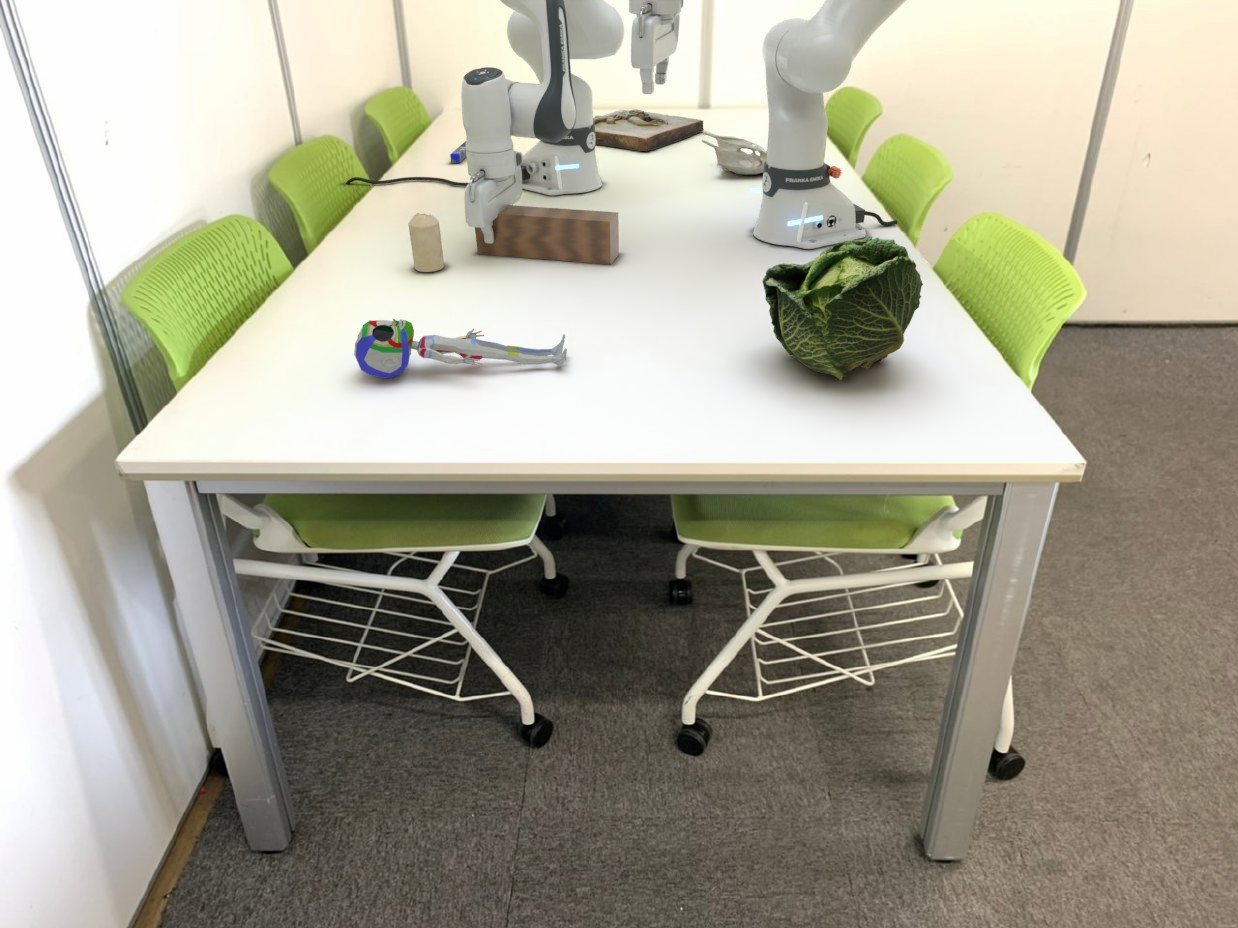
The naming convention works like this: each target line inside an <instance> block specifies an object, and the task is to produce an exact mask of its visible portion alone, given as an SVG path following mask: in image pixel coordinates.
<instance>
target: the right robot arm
mask: <svg viewBox="0 0 1238 928" xmlns="http://www.w3.org/2000/svg"><path fill="white" fill-rule="evenodd" d="M905 2H907V0H825V1H824V3H823V4H822V5H821V7H820V8H819V10H818V11H817V12H816V13H815V14H814V15H813V16H812V17H811V18H810V19H808V20H807V19H804V18H799V17H794V18H793V17H792V18H788V19H784V20H782V21H780V22H778V23H776V24H774V25H773V26H772V27H771V28H770V29H769V30H768V32H767V33H766V34H765V36H764V39H763V42H762V48H761V53H762V59H763V62H764V69H765V70H764V71H765V82H766V83H765V84H766V85H765V86H766V97H767V110H768V133H767V147H766V148H767V149H766V151H767V161H766V162H765V163H764V171H763V173H762V184H761V185H762V187H761V188H759V187H758V188H750V193H751V194H753V193H762V197H761V204H760V209H759V213H758V217H757V220H756V223H755V226H754V229H753V231H752V234H753V236H754V237H755V238H756V239H758V240H759V241H762V242H765V243H768V244H772V245H778V246H785V247H787V246H788V247H795V248H800V249H805V250H813V249H817V248H822V247H827V246H831V245H832V246H833V245H835V244H837V243H838V242H844V241H848V240H860V239H865V238H866V235H867V232H866V229H865V227H864V226H863V225H861V224H862V223H865V216H869V217H872V218H875V219H876V220H877V222H878V223H879V224H880V225H881V226H884V227H890V226H892V225H893V226H894V225H897V224H898V220H896V219H895V220H894V219H893V220H890V221H885V220H883V218H882V217H881V216H880V215H879V214H877V213H876V212H874V211H873V212H872V211H867V210H866V209H864V208H862V207H860V206H859V205H858V204H855V203H853V201H852V200H851V199H850V198H849V197H848V196H847V195H846V194H844V193H843V192H842V191H841V190H840V189H839V188H838V187H836V186H835V185H834V184H833V183H832V182H831V177H832V178H833V179H839V178H840V177H841V176H842V169H841V168H840V167H837V166H836V165H833V166H831V165H829V164H827V163H825V156H826V148H827V137H828V128H829V120H828V119H829V118H828V115H827V112H826V107H825V100H824V93H829V92H832V91H834V90H836V89H837V88H839V87H840V86H841V85H842V84H843V83H844V82H845V80H846V79H847V77H849V74H850V71H851V68H852V63H853V61H854V60H855V58H857V56H858V55H859V53H860V52H861V51H862V49H863V48H864V46H865V45H866V44H867V42H868V41H869V39H870V38H871V37H872V35H874V33H876V31H877V30H878V29H879V28H880V27H881V26H882V25H883V24H884V23H885V22H886V21H887V20H888V19H889V18H890V17H891V16H892V15H893V14H894V13H895V12H896V11H897V10H898V9H899V8H900V7H901V6H903V4H905ZM682 8H684V0H628V12H629V14H633V15H636V17H634V19H633V20H632V23H631V24H632V25H631V35H630V36H631V37H630V39H631V40H630V63H631V68H633V69H639V76H640V80H641V90H642V91H641V92H642V94H644V95H652V94H654V92H655V85H659V86H661V85H662V86H663V85H664V84H666V83H667V72H668V67H669V62H670V56H671V55H674V54H675V53H676V51H677V47H678V41H679V31H680V20H681V12H682ZM654 72H655V73H654Z"/></svg>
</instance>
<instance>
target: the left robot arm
mask: <svg viewBox="0 0 1238 928" xmlns="http://www.w3.org/2000/svg"><path fill="white" fill-rule="evenodd" d="M499 1H500V2H501V3H502V4H503V5H505V6H506V7H508V8H509V9H511V10H512V11H513V12H512V13H511V15H510V16H509V19H508V22H507V28H506V35H507V40H508V43H509V46H510V47H511V49H512V51H513V52H514V53H515V54H516V55H517V57H519V58H520V59H522V60H523V61H524V62H525V63H526V64H527V65H528V66H529V67H530V69H531V70H532V72H534V75H535V77H536V78H537V80H538V83H531V82H519V81H513V80H510V79H508V78H506V76H505V73H504V71H503V70H502V69H500V68H497V67H491V66H485V67H480V68H475V69H472V70H470V71H468V72H466V74H465V75H464V76H463V77H462V82H461V93H460V94H461V99H460V100H461V101H460V103H461V105H460V106H461V117H462V126H463V128H464V130H465V136H466V140H465V141H466V157H465V158H466V166H467V174H468V176H469V177H470V178H469V182H459V181H458V182H457V181H453V180H449V179H447V178H442V177H433V176H407V177H398V178H391V179H385V180H371V179H367V178H364V177H359V176H355V177H351V178H349V179H348V180H347V181H346V182H345V185H350V184H351V183H353V182H355V181H357V182H363V183H367V184H372V185H386V184H393V183H399V182H407V181H429V182H430V181H431V182H441V183H445V184H448V185H453V186H457V187H459V186H460V187H465V189H464V213H465V214H464V215H465V216H464V217H465V222H466V224H467V226H468V227H470V228H475V227H480V228H481V230H482V232H483V234H484V241H485V243H491V244H492V243H493V242H494V241H495V240H496V237H495V232H493V229H492V226H493V220H494V219H496V218H497V217H498V214H499V213H500V212H501V211H502V210H504V209H505V208H506V207H508V206H509V205H516V203H517V202H518V201H520V200H521V198H522V195H523V190H527V191H531V192H535V193H539V194H543V195H545V196H559V195H568V194H569V195H570V194H582V193H588V192H592V191H595V190H598V189H600V188H601V187H602V186H603V183H602V180H601V178H600V177H601V176H600V173H599V168H598V163H597V156H596V145H597V144H596V133H595V124H594V123H593V118H594V102H593V101H594V100H593V99H594V98H593V90H592V88H591V86H590V85H589V83H588V82H587V81H586V80H584V79H583V78H581V77H580V76H578V75H575V74H573V73H572V69H571V60H599V59H603V58H608V57H612V56H615V55H616V54H617V53H618V52H619V50H620V49H621V47H622V45H623V42H624V39H625V25H624V22H623V18H622V16H621V14H620V13H619V12H618V10H617V9H616V8H615V7H613V6H612V5H610V4H608V3H607V2H606V0H499ZM512 137H515V138H523V139H524V138H525V139H535V140H539V141H538V142H536V143H535V144H534V145H533V146H532V147H530V149H529V150H527V151H526V152H525V153H524V154H523V153H522V152H521V151H517V150H515V149H514V142H513V139H512Z"/></svg>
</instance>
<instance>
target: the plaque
mask: <svg viewBox="0 0 1238 928" xmlns="http://www.w3.org/2000/svg"><path fill="white" fill-rule="evenodd" d="M593 123H594V124H595V133H596V144H595V145H597V146H598V145H599V146H607V147H612V148H620V149H625V150H632V151H640V152H648V151H654V150H656V149H659V148H662V147H663V146H664V147H665V146H667V145H670V144H672V143H676V142H680V141H682V140H684V139H687V138H691V137H692V136H694V135H696V134H698V133H700V132H705V131H704V130H705V129H704V120H702V119H698V118H693V117H685V116H679V115H669V114H663V113H659V112H650V111H644V110H642V109H637V108H636V109H635V108H634V109H630V110H629V109H620V110H616V111H613V112H610V113H608V114H602V115H594V117H593Z"/></svg>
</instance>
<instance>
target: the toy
mask: <svg viewBox="0 0 1238 928" xmlns="http://www.w3.org/2000/svg"><path fill="white" fill-rule="evenodd" d="M474 331H475V328H472V329H471V330H469V331H468V332H467V333H466V334H465V335H463V336H458V337H449V336H448V337H447V336H442V335H439V334H428V335H423V336H421V338H420V339H419V341H417V340H414V336H415V329H414V326H413V324H412V322H410V321H408V320H407V319H399V320H397V319H395V318H392V320H387V319H379V320H368V321H367V322H365V323H364V324H362V326H361V329H360V331H359V333H358V334H357V338H356V340H355V342H354V354H353V355H354V357H355V359H356V362H357V364H358V366H359V369H360V370H361V372H364V373H366V374H367V375H370V376H373V377H377V378H382V379H383V378H384V379H392V378H394V377H396V376H398V375H400V374H401V375H402V374H403V372H404V371H405V370H406V368H407V367H408V366H409V364H410V357H411V355H412V350H415V351H417V353H418V356H419V357H421V358H422V359H430V360H434V361H438V362H442V363H444V364H449V365H458V364H459V365H461V364H465V365H471V366H477V367H479V368H480V367H481V366H482V365H483V363H482V362H478V361H480V360H482V359H487V360H488V359H489V360H503V361H509V362H514V363H517V364H520V365H528V366H529V365H542V364H550V363H553V364H555V365H557V366H559V367H562V366H563V364H564V362H565V361H566V360H567V357H568V355H567V353H568V348H566V347H565V348H564V345H565V340H566V334H565V333H563V334H562V338H561V340H560V341H559V343H558V344H556V345H555V346H554V347H552V348H533V347H532V348H531V347H523V346H518V345H517V346H516V345H504V344H501V343H498V342H494V341H488V340H482V339H478V338H479V337H480V338H481V337H485V334H480V333H482V332H483V331H482V330H479V331H476V332H474ZM563 349H564V350H563ZM453 353H455V354H457V355H459V357H458V356H455V355H448V354H453ZM445 354H447V355H445Z"/></svg>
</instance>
